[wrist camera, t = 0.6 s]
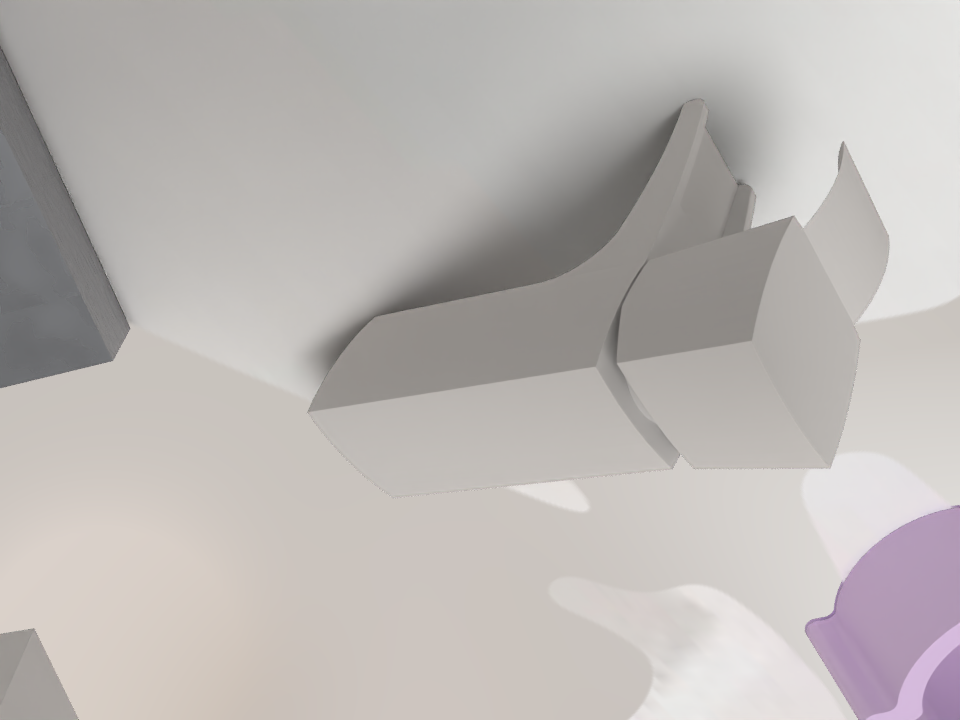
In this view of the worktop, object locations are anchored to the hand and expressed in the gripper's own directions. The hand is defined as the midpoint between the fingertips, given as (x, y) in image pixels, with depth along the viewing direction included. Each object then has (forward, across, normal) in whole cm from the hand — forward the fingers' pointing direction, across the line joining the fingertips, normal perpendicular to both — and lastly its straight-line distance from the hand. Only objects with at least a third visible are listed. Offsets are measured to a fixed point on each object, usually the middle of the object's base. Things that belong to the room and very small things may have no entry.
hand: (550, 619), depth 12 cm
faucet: (+27, +4, -7) cm, 28 cm away
